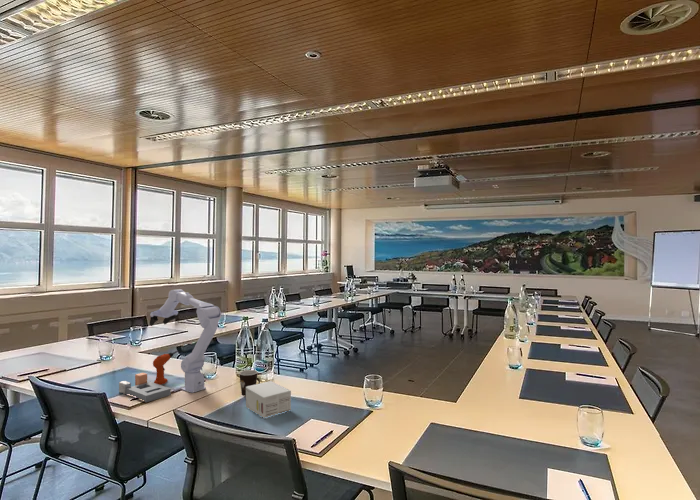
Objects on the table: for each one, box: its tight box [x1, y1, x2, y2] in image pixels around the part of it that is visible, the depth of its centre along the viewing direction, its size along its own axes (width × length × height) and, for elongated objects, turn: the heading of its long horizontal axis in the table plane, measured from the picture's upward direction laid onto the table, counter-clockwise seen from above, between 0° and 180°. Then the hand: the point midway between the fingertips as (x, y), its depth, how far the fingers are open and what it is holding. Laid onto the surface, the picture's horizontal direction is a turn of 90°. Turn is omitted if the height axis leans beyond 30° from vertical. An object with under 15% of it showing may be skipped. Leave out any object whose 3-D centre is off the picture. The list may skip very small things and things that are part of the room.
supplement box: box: [245, 380, 292, 418], centre depth 178 cm, size 17×13×9 cm
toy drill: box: [152, 350, 179, 386], centre depth 218 cm, size 5×19×15 cm, turn 166°
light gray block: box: [118, 380, 132, 395], centre depth 199 cm, size 6×3×5 cm, turn 55°
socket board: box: [126, 381, 172, 403], centre depth 196 cm, size 18×12×3 cm, turn 55°
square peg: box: [134, 372, 148, 386], centre depth 205 cm, size 4×4×7 cm
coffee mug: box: [238, 369, 261, 396], centre depth 197 cm, size 12×9×10 cm
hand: (157, 323), depth 219 cm, fingers open, 7 cm apart
